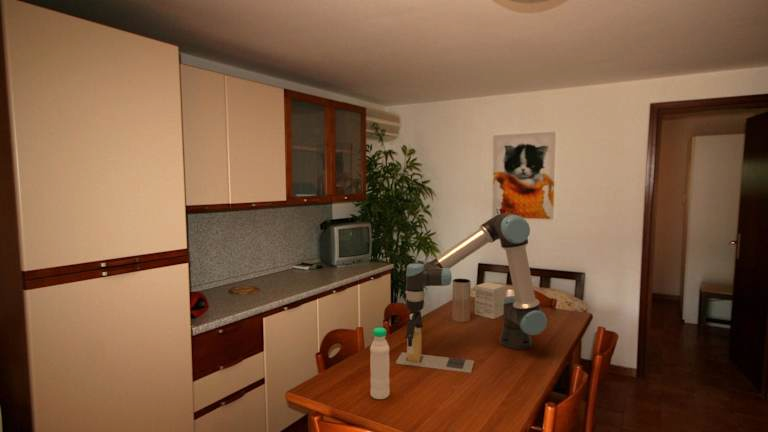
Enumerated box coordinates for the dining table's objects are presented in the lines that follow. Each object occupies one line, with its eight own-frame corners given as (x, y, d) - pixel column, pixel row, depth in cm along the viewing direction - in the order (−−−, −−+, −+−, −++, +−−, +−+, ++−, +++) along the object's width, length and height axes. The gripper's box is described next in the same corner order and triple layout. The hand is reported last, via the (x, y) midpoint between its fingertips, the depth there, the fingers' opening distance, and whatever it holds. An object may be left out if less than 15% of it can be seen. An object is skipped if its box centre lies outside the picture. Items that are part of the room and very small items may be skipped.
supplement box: (486, 309, 268) (486, 281, 267) (505, 314, 259) (506, 285, 257) (474, 314, 259) (474, 285, 257) (493, 319, 249) (494, 289, 248)
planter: (473, 319, 249) (473, 280, 247) (463, 323, 242) (464, 283, 240) (458, 315, 256) (459, 277, 254) (448, 319, 249) (449, 280, 247)
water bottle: (369, 391, 164) (369, 326, 162) (388, 390, 164) (388, 325, 163) (370, 400, 157) (370, 332, 155) (390, 399, 157) (390, 332, 156)
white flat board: (473, 363, 189) (473, 360, 189) (471, 372, 179) (471, 369, 179) (402, 354, 198) (402, 352, 198) (396, 363, 189) (396, 360, 189)
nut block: (421, 359, 193) (421, 333, 192) (418, 363, 188) (419, 336, 187) (410, 358, 195) (410, 331, 194) (407, 362, 190) (407, 335, 189)
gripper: (413, 292, 202) (412, 336, 204) (398, 306, 179) (398, 356, 180) (429, 293, 200) (428, 338, 202) (416, 308, 176) (415, 359, 178)
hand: (414, 347), depth 191 cm, fingers open, 13 cm apart
